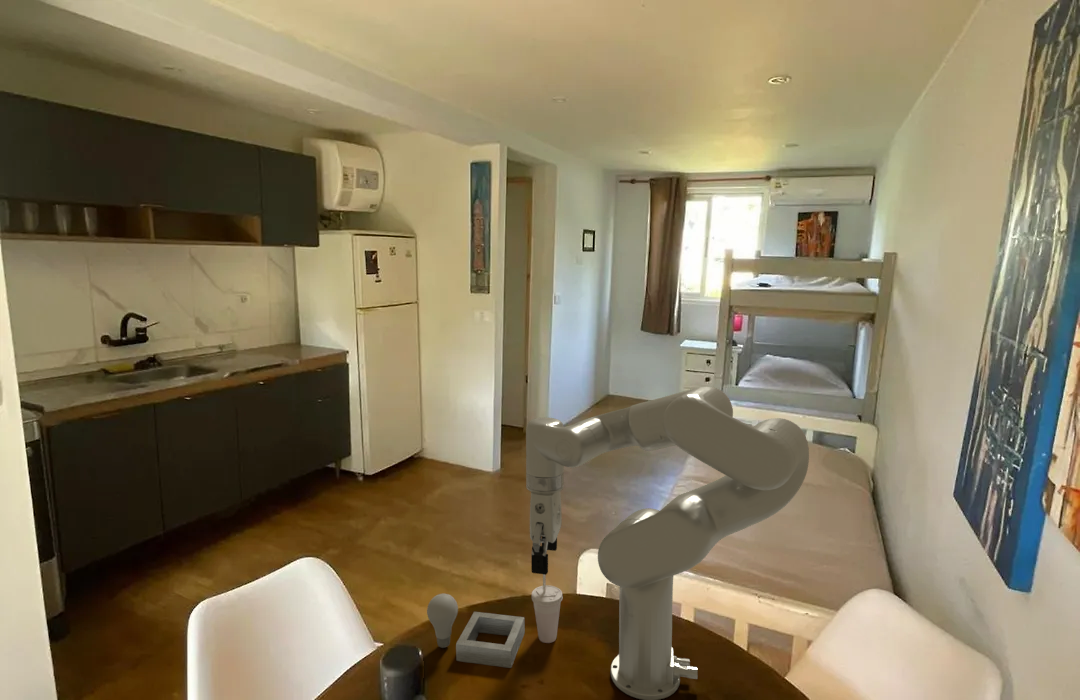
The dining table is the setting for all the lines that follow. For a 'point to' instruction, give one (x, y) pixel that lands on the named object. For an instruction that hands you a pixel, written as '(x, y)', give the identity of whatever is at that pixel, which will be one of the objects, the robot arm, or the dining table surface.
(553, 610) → the smoothie
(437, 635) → the lightbulb
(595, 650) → the dining table surface
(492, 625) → the socket block
